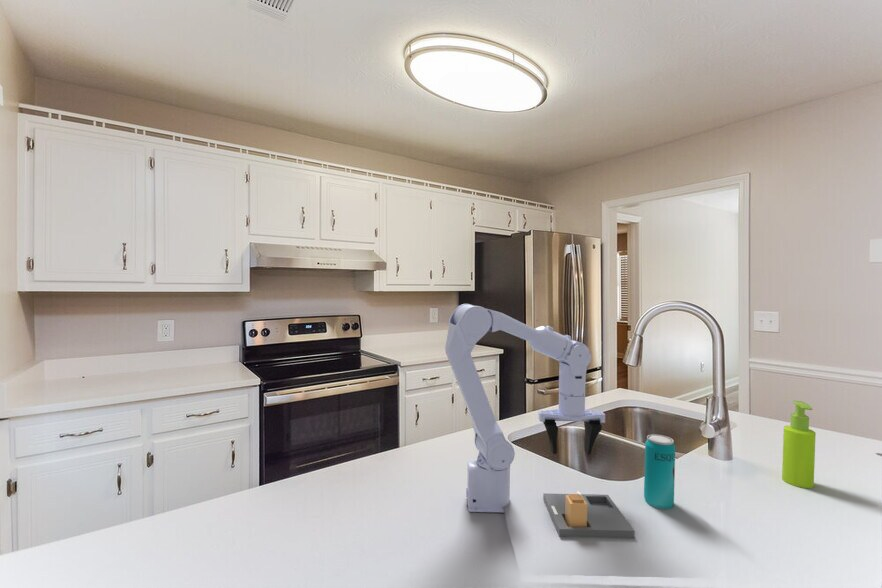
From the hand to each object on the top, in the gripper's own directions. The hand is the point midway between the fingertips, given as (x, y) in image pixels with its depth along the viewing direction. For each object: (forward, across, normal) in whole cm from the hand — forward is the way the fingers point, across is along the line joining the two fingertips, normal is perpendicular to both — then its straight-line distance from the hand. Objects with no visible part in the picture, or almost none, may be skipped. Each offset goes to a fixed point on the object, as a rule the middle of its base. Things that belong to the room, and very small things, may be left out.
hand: (570, 452), depth 93 cm
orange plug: (+9, -3, -14) cm, 17 cm away
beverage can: (+10, +18, -4) cm, 21 cm away
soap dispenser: (+10, +58, +8) cm, 59 cm away
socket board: (+10, 0, -10) cm, 14 cm away
